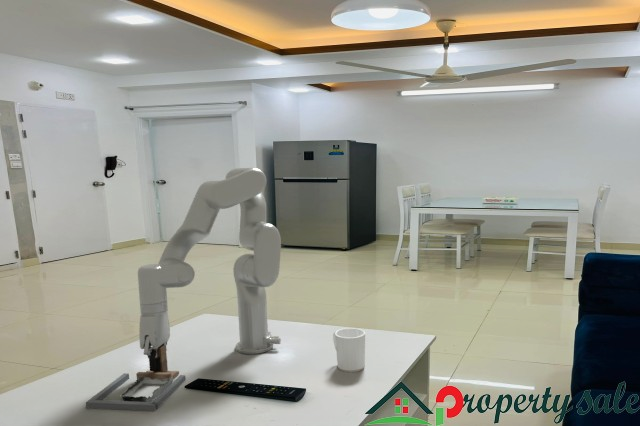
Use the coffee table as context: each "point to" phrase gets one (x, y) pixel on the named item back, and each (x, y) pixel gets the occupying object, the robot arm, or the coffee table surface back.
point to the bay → (131, 405)
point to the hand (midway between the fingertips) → (158, 367)
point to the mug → (350, 349)
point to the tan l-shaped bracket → (164, 370)
